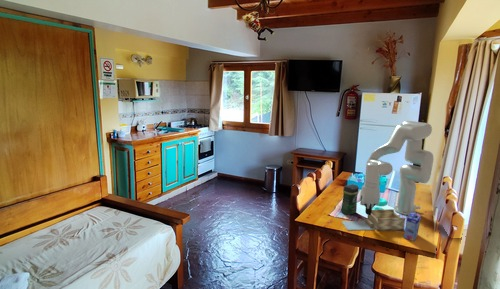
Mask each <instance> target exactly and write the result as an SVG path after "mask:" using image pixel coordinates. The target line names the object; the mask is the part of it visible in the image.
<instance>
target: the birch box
mask: <svg viewBox="0 0 500 289" xmlns="http://www.w3.org/2000/svg"><path fill="white" fill-rule="evenodd" d="M383 209H384V210H372V213H371V215H367V216H366V219H367V218H368V219H369V220H370V221H371V222H372V223H373V228H374V229H375V230H374V231H376V232H381V231H382V232H385V231H386V232H387V231H388V232H391V231H405V225H406V217H401V216H400V215H398V214H397V212H395V210H394V208H392V209H385V208H383Z"/></svg>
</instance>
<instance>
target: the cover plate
mask: <svg viewBox="0 0 500 289" xmlns="http://www.w3.org/2000/svg"><path fill="white" fill-rule="evenodd" d="M340 223H342V225H343V226H344V227H345V229H346V230H347V231H376V230H375V229H374V228H373V223H372V222H371V221H370V220H369V219H368V218H367V217H366V218H365V219H364V220H353V221H352V220H351V221H350V220H343V221H342V220H341V221H340Z"/></svg>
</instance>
